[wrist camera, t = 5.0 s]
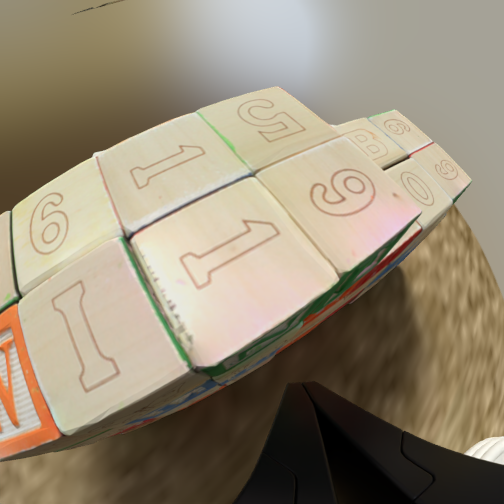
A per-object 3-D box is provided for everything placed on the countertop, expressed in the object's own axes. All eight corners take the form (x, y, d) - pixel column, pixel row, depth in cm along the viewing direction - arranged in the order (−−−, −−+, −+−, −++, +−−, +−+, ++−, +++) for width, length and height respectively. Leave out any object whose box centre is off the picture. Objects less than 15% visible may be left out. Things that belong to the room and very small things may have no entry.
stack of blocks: (352, 201, 22) (413, 67, 11) (403, 261, 19) (505, 145, 8) (94, 342, 16) (-53, 252, 5) (138, 431, 13) (-19, 464, 2)
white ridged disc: (405, 554, 8) (429, 568, 5) (446, 441, 13) (478, 441, 10) (486, 528, 7) (511, 532, 4) (516, 432, 12) (543, 428, 9)
